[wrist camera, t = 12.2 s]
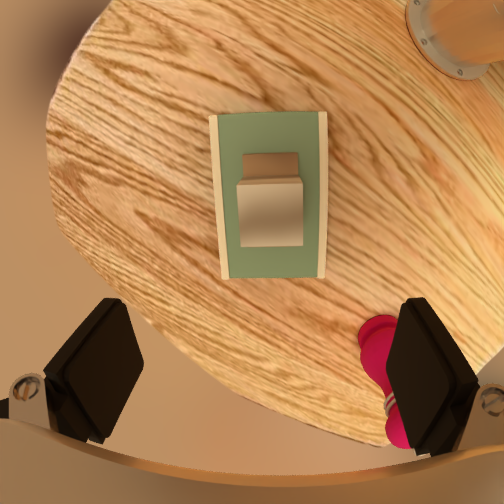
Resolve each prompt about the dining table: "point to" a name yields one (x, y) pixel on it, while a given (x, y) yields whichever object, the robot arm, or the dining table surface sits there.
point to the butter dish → (270, 201)
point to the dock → (231, 172)
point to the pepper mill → (382, 371)
